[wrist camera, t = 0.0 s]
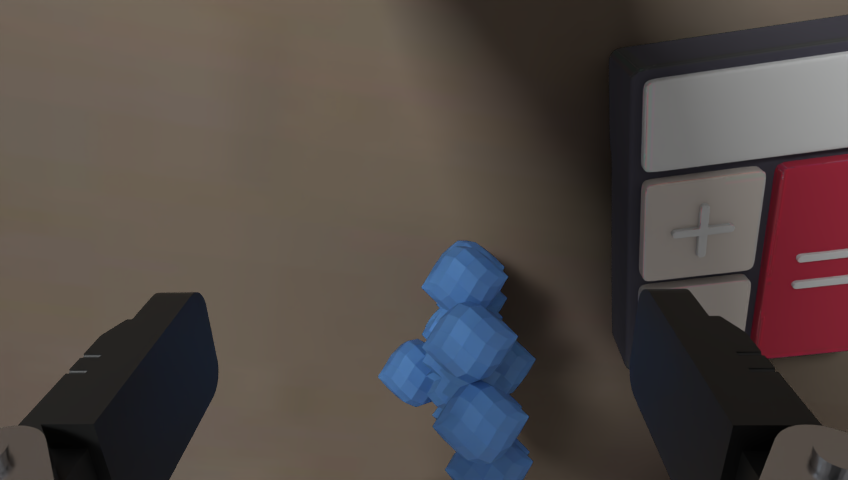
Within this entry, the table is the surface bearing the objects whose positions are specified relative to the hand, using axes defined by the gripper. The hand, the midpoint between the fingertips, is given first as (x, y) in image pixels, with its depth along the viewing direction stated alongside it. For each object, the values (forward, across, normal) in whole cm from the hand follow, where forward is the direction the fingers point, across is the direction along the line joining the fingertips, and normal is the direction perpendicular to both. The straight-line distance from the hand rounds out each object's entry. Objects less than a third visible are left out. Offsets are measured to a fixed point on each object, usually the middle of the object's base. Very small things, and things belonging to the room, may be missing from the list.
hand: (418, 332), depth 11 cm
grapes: (+18, -1, +9) cm, 20 cm away
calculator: (+18, -14, +4) cm, 23 cm away
